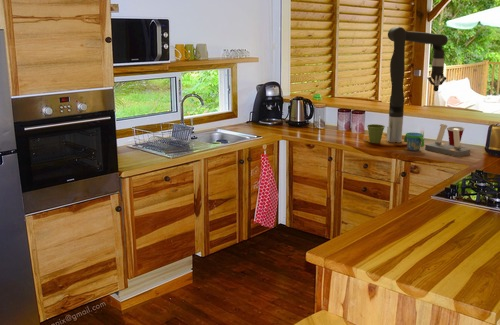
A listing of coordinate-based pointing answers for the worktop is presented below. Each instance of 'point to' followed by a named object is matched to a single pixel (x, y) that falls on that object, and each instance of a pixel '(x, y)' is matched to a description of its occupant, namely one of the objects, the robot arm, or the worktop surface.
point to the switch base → (447, 149)
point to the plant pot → (375, 132)
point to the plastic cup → (451, 135)
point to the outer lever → (456, 138)
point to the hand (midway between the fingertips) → (435, 91)
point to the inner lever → (441, 134)
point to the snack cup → (414, 141)
